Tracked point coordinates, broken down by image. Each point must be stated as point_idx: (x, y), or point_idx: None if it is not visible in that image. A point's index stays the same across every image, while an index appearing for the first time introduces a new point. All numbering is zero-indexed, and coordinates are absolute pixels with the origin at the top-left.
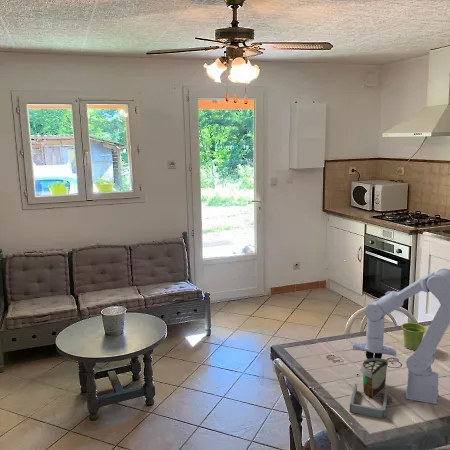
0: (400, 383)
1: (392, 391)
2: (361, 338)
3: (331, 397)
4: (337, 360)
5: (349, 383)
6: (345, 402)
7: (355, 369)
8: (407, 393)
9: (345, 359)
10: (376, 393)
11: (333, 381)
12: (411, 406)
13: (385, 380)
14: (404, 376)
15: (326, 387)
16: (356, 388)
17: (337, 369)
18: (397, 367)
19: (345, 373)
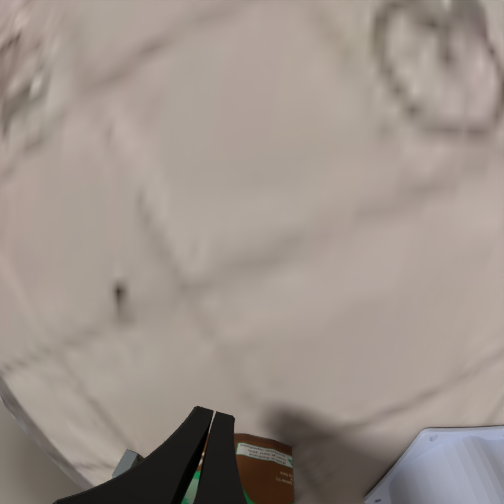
0: (414, 391)
1: (325, 466)
2: None
3: (65, 460)
4: (20, 97)
5: (92, 396)
6: None
7: (106, 213)
8: (389, 483)
9: (63, 59)
10: None
11: (29, 368)
12: None
13: (292, 483)
14: (483, 292)
15: (27, 406)
16: None
17: (16, 233)
18: (478, 137)
19: (54, 284)
